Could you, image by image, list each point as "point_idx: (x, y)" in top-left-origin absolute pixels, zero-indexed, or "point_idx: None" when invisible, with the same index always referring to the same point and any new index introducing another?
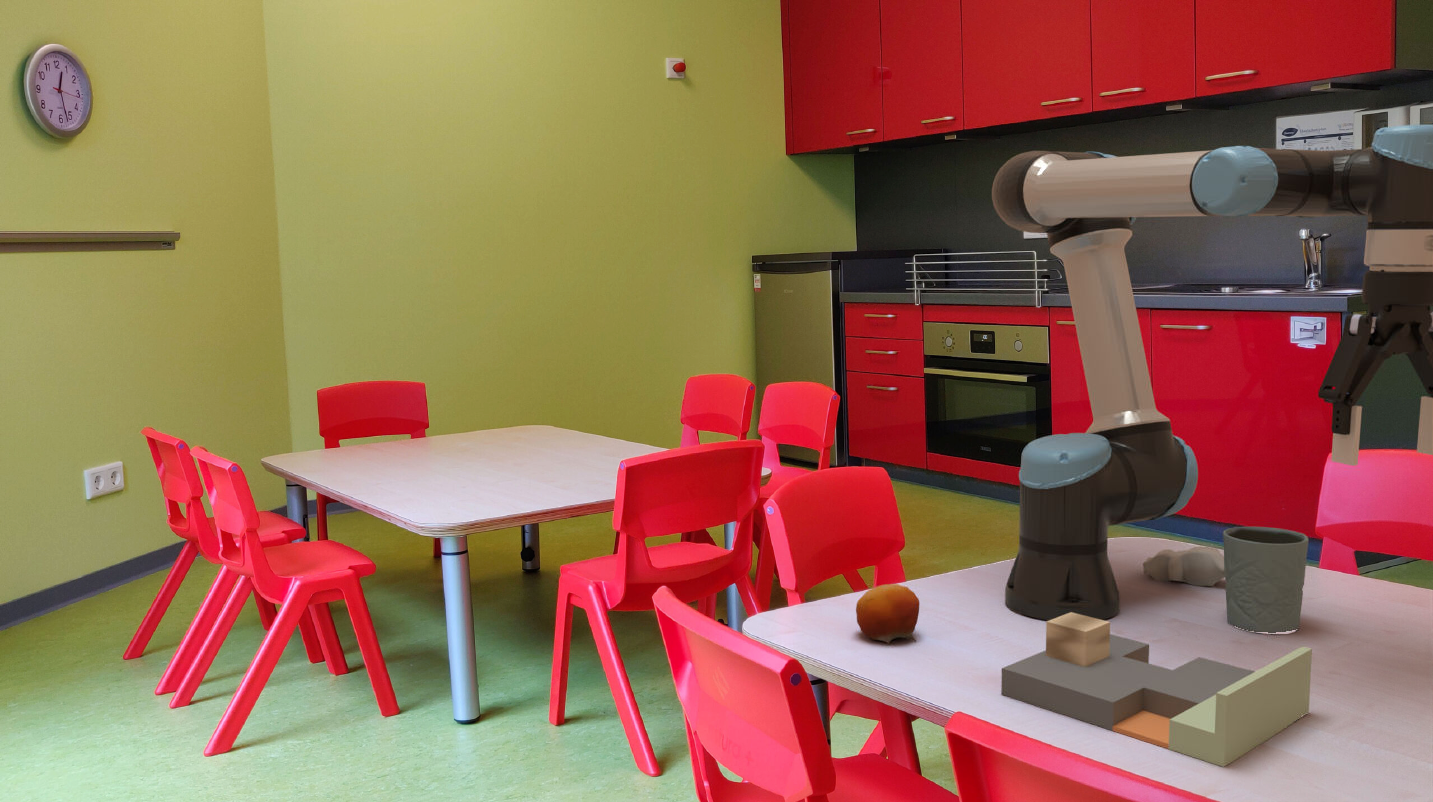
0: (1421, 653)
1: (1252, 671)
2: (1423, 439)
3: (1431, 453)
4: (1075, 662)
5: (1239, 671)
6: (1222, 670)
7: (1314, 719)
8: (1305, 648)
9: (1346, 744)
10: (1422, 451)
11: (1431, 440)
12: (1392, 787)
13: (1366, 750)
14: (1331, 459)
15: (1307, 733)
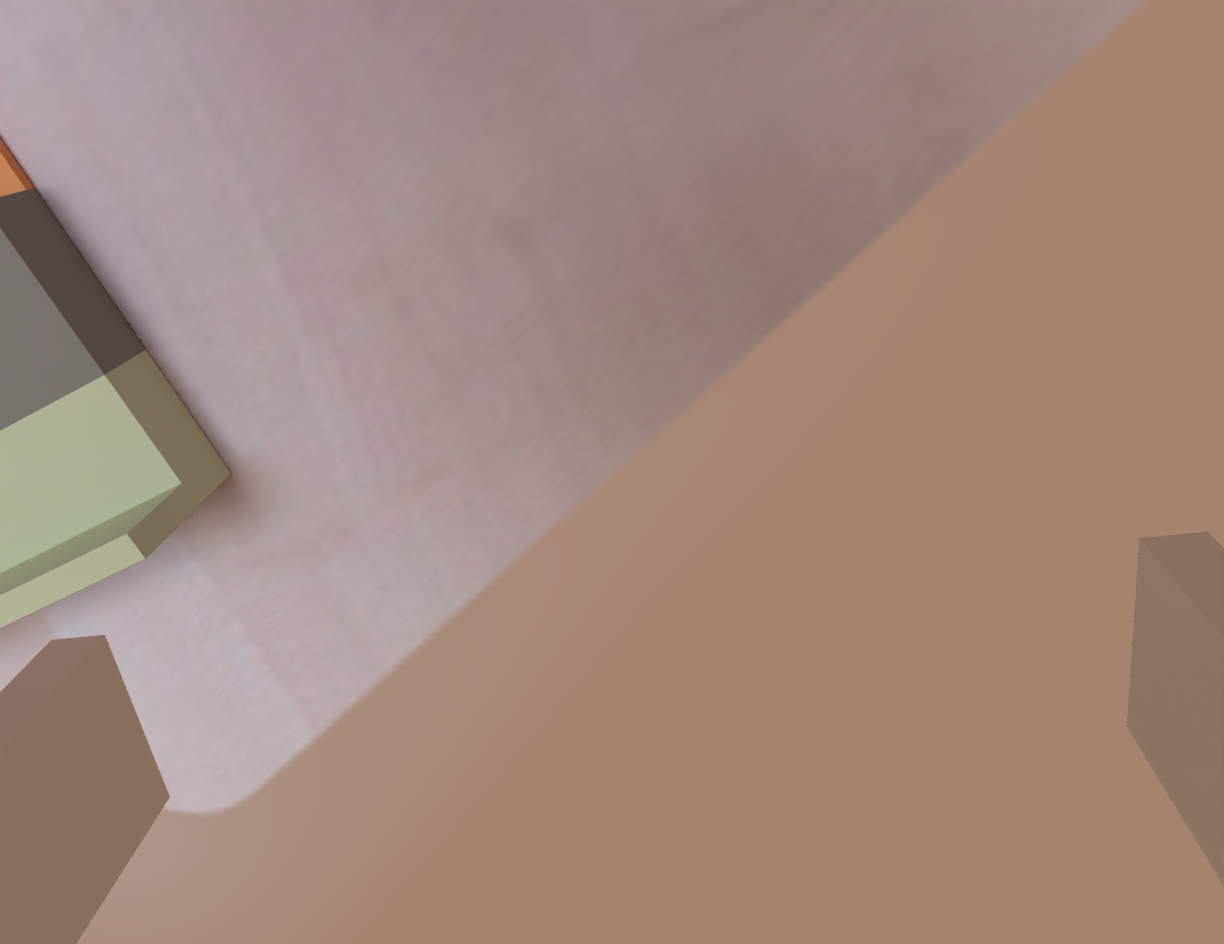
0: (959, 165)
1: (92, 366)
2: (1194, 669)
3: (1134, 674)
4: None
5: (53, 353)
6: (3, 332)
7: (222, 507)
8: (126, 550)
9: (208, 636)
10: (1141, 599)
11: (1188, 746)
12: (171, 801)
13: (232, 671)
14: (43, 649)
15: (154, 566)
